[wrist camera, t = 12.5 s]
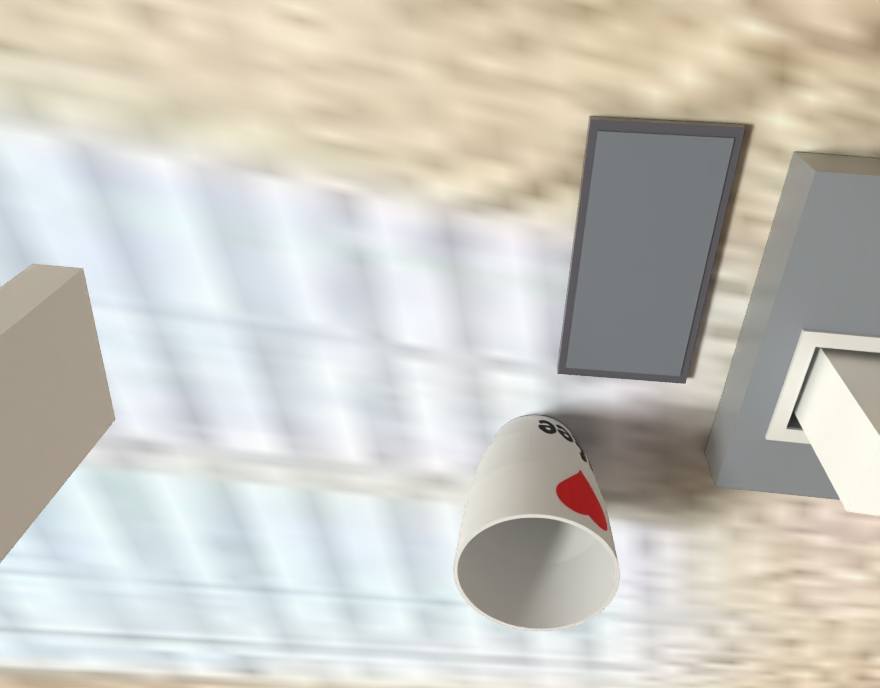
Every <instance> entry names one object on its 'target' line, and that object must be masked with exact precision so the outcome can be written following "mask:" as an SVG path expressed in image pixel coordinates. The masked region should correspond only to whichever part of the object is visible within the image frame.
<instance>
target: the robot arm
mask: <svg viewBox="0 0 880 688" xmlns="http://www.w3.org/2000/svg"><path fill="white" fill-rule="evenodd" d="M114 421H115V415H114V411H113V406H112V401H111V397H110V392H109V387H108V383H107V378H106V373H105V369H104V364H103V359H102V355H101V350H100V345H99V341H98V336H97V331H96V327H95V322H94V317H93V312H92V308H91V303H90V298H89V294H88V289H87V284H86V280H85V275H84V270H83V268H73V267H62V266H51V265H40V264H32V265H31V266H29V267H28V268H27V269H25V270H24V271H22V272H21V273H20V274H18V275H17V276H16V277H14V278H13V279H11V280H10V281H9V282H7V283H6V284H4V285H3V286H2V287H0V563H1V561H2V560H3V559H4V558H5V556H6V555H7V554H8V553H9V551H10V550H11V549H12V548H13V547H14V545H15V544H16V543H17V542H18V540H19V539H20V538H21V537H22V535H23V534H24V533H25V532H26V530H27V529H28V528H29V527H30V525H31V524H32V523H33V522H34V520H35V519H36V518H37V517H38V515H39V514H40V513H41V512H42V510H43V509H44V508H45V507H46V505H47V504H48V503H49V502H50V500H51V499H52V498H53V497H54V495H55V494H56V493H57V492H58V490H59V489H60V488H61V487H62V485H63V484H64V483H65V482H66V480H67V479H68V478H69V477H70V475H71V474H72V473H73V472H74V471H75V469H76V468H77V467H78V466H79V464H80V463H81V462H82V461H83V459H84V458H85V457H86V456H87V454H88V453H89V452H90V451H91V449H92V448H93V447H94V446H95V444H96V443H97V442H98V441H99V439H100V438H101V437H102V436H103V434H104V433H105V432H106V431H107V429H108V428H109V427H110V426H111V424H112V423H113V422H114Z"/></svg>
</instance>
